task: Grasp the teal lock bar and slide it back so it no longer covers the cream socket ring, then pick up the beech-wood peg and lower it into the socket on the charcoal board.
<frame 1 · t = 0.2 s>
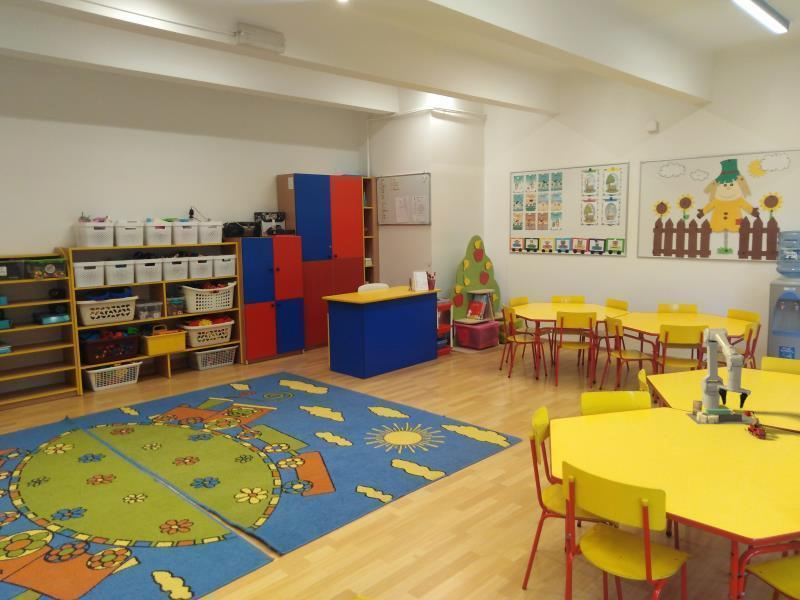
hand: (732, 406, 295), 10 cm above the table, fingers open, 7 cm apart
lock bar: (719, 411, 300), point 6 cm above the table, slide at 0.0 cm
peg: (696, 414, 309), point 1 cm above the table, touching board
board: (722, 421, 302), on the table
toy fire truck: (754, 434, 284), on the table
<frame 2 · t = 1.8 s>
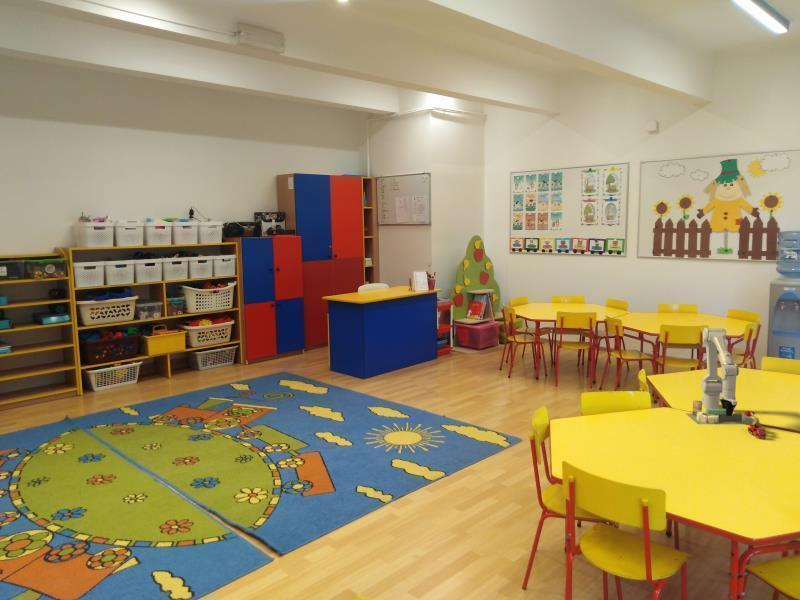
hand: (727, 414, 300), 4 cm above the table, fingers closed on lock bar, 3 cm apart
lock bar: (719, 411, 300), point 6 cm above the table, slide at 0.0 cm, touching gripper
everything else where it was.
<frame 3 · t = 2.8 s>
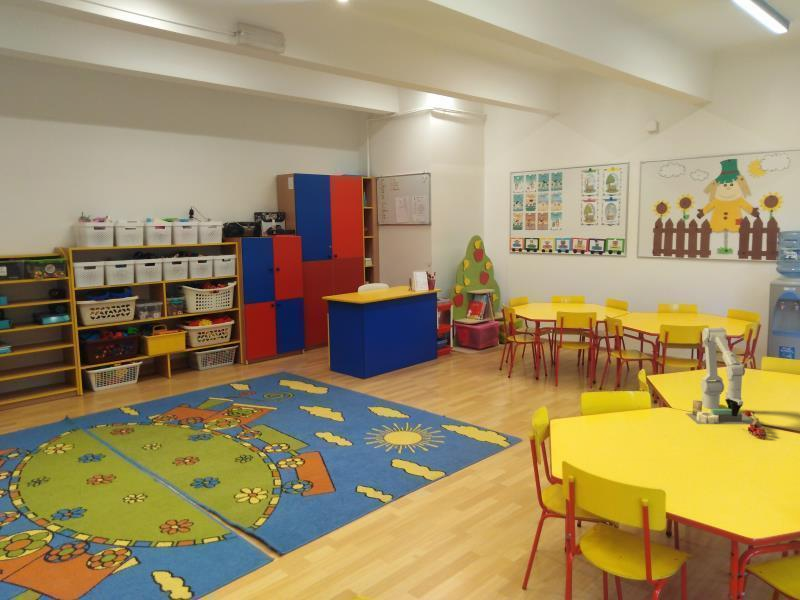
hand: (733, 414, 299), 4 cm above the table, fingers closed on lock bar, 3 cm apart
lock bar: (724, 411, 300), point 6 cm above the table, slide at 2.6 cm, touching gripper
everything else where it was.
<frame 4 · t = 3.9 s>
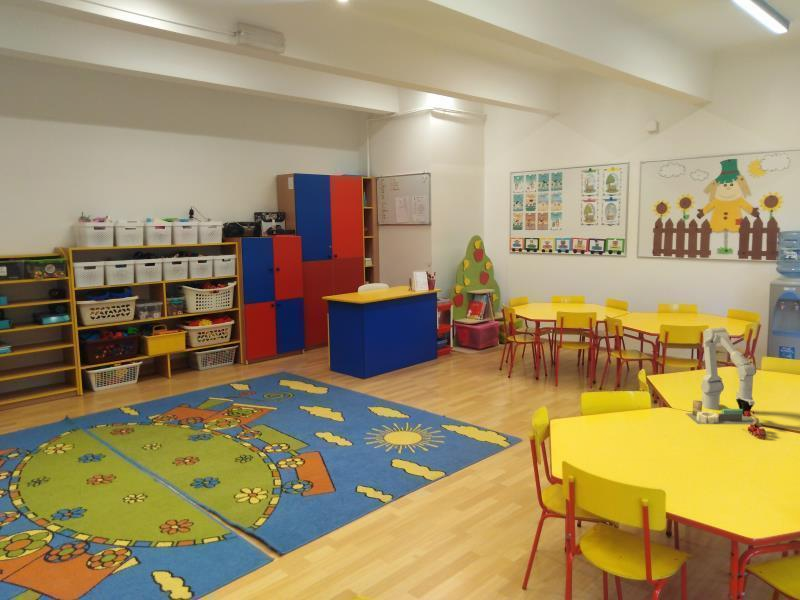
hand: (744, 414, 299), 4 cm above the table, fingers closed on lock bar, 3 cm apart
lock bar: (735, 411, 299), point 6 cm above the table, slide at 7.7 cm, touching gripper
everything else where it was.
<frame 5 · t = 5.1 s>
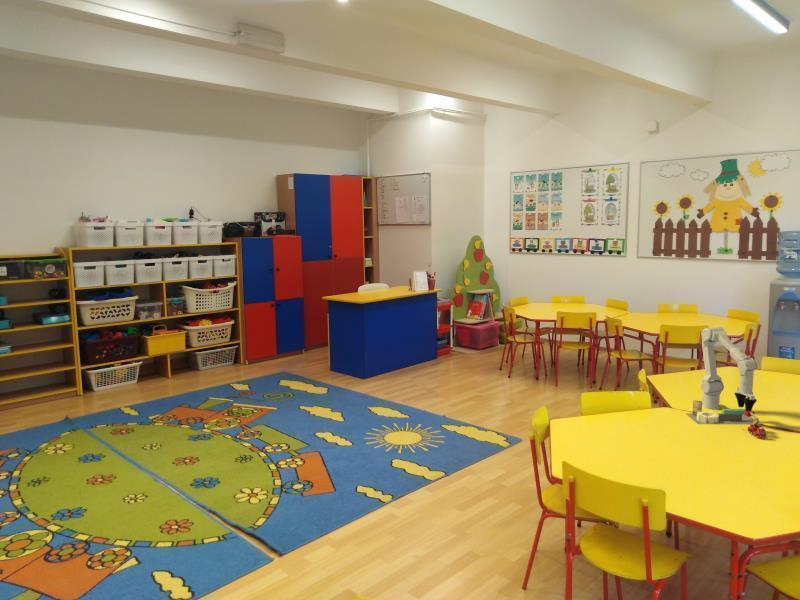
hand: (744, 409, 299), 7 cm above the table, fingers open, 7 cm apart
lock bar: (735, 411, 299), point 6 cm above the table, slide at 7.8 cm
everything else where it was.
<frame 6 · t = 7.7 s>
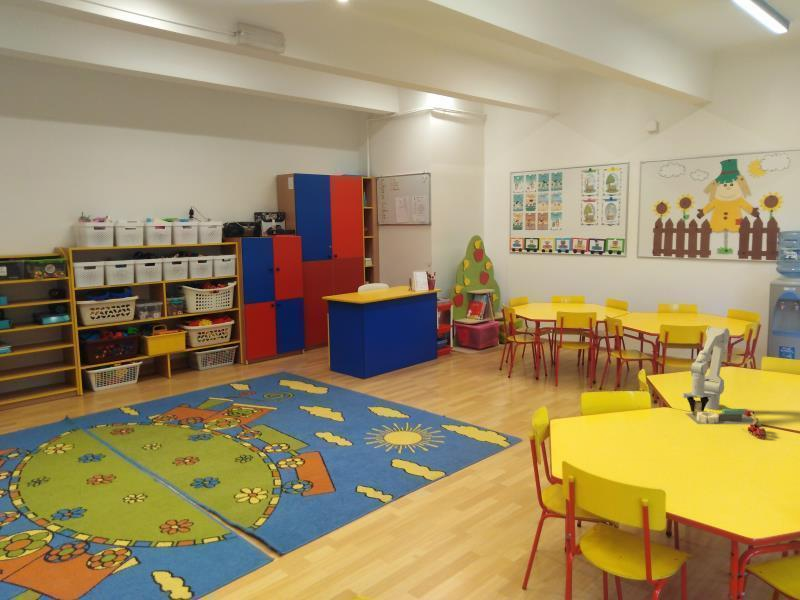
hand: (697, 411, 309), 3 cm above the table, fingers closed on peg, 4 cm apart
peg: (696, 414, 309), point 1 cm above the table, touching board, gripper
everything else where it was.
when the fingers open (5 cm above the table, at t = 10.6 s): peg drops 2 cm, resting on board.
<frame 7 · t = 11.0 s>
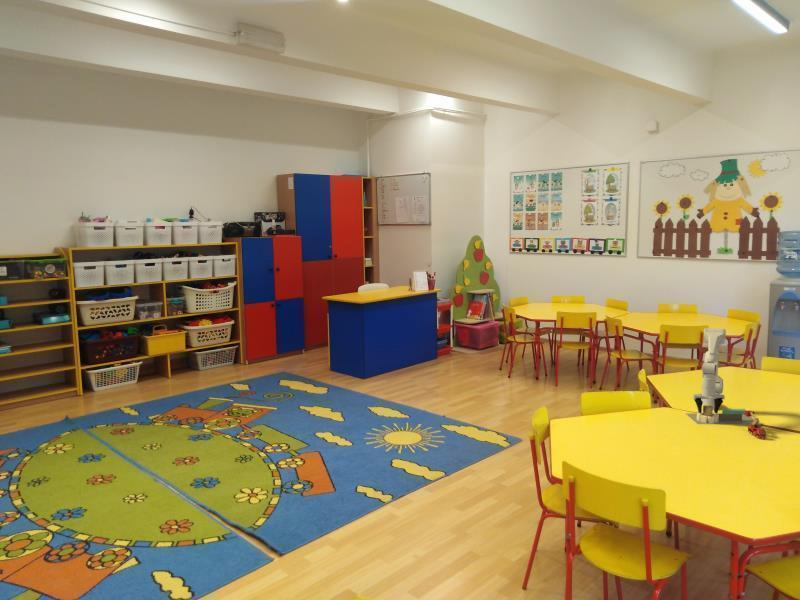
hand: (707, 412, 300), 5 cm above the table, fingers open, 7 cm apart
peg: (707, 420, 301), point 1 cm above the table, touching board
everything else where it was.
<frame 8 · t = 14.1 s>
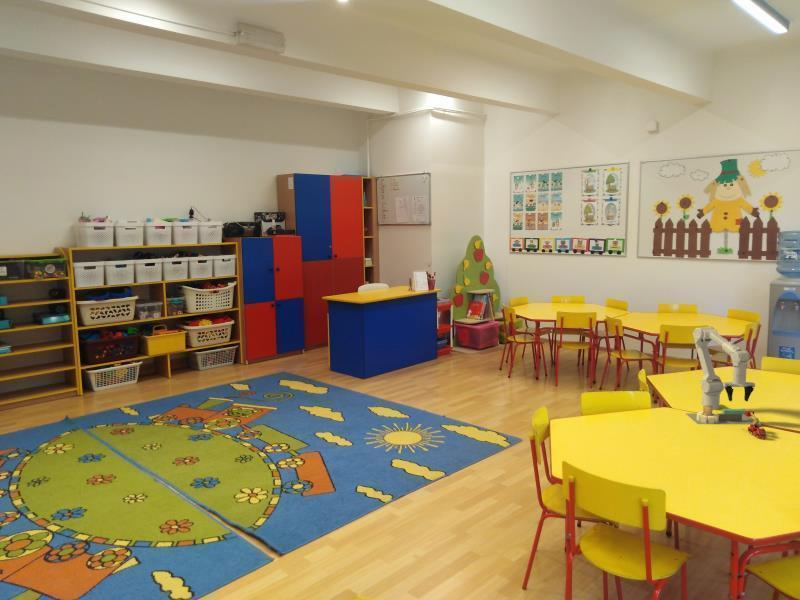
hand: (738, 400, 302), 10 cm above the table, fingers open, 7 cm apart
nothing on the table moved.
at the end: lock bar slide at 7.8 cm; peg 0.1 cm from the target spot, point 1.2 cm above the table; peg tilted 0° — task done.
